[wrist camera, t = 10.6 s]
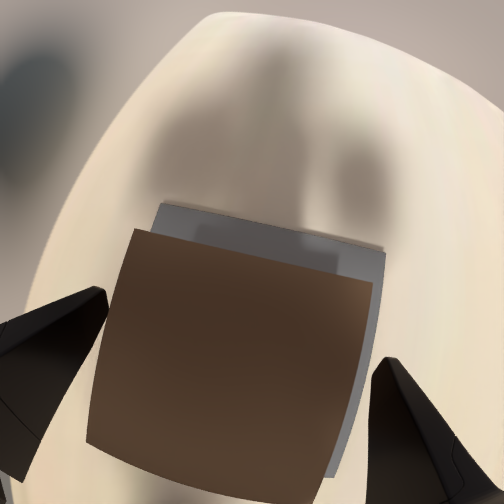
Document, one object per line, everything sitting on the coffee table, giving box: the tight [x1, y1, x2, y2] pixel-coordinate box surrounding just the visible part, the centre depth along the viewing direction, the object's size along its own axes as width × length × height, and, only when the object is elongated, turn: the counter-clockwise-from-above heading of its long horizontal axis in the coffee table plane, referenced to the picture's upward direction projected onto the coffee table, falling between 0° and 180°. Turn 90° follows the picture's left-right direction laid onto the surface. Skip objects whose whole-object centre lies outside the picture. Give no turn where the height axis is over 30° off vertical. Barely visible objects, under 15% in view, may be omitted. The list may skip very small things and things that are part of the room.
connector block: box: [86, 229, 373, 504], centre depth 10 cm, size 5×5×12 cm
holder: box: [150, 203, 386, 478], centre depth 15 cm, size 16×16×2 cm
